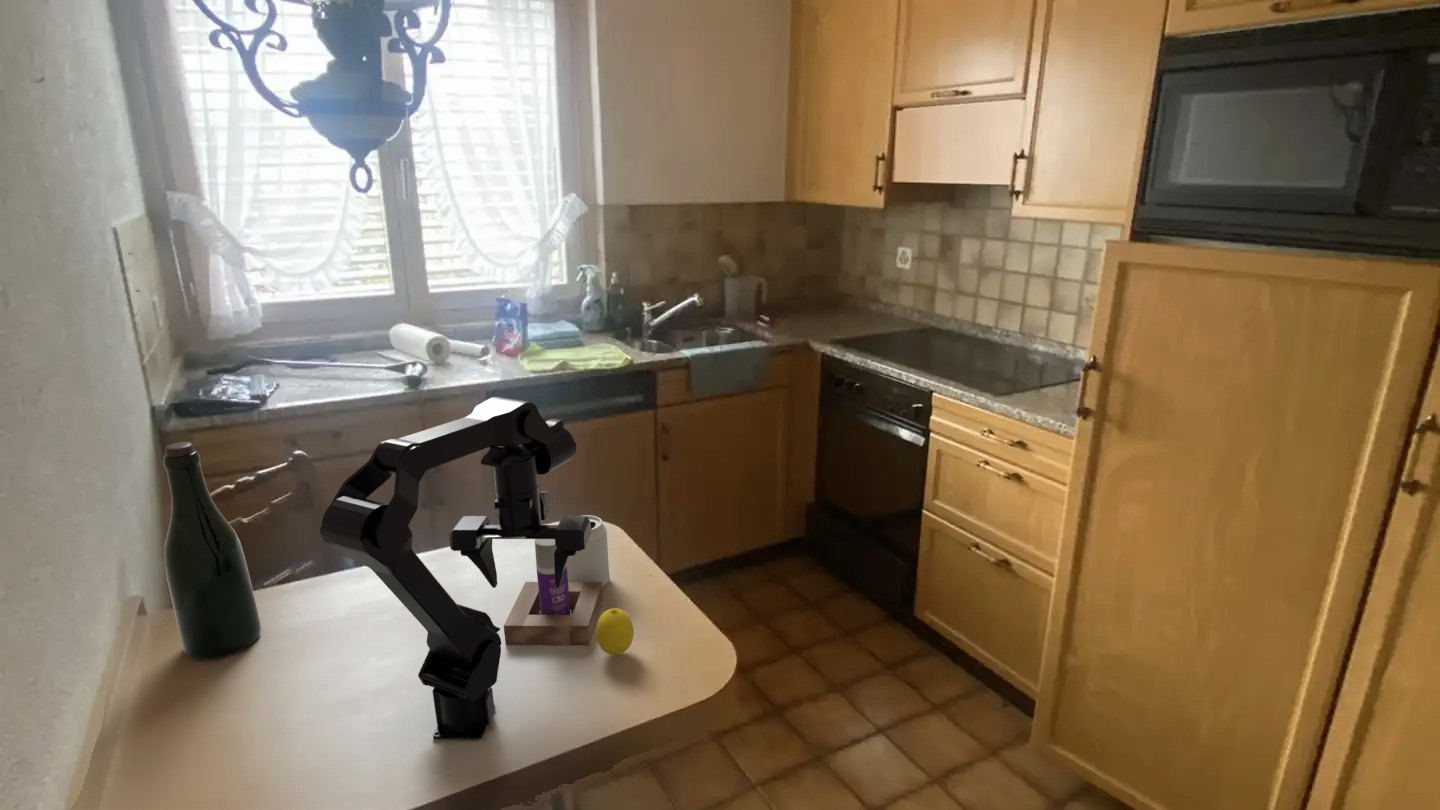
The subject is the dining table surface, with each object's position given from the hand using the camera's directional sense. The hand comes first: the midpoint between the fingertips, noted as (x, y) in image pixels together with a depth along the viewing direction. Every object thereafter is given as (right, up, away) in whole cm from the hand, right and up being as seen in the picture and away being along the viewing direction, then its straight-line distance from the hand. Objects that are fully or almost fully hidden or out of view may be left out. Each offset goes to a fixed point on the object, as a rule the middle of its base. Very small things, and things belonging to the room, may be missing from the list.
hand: (526, 586), depth 114 cm
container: (+1, -9, +14) cm, 17 cm away
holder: (+1, -9, +14) cm, 17 cm away
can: (+5, -6, +26) cm, 27 cm away
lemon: (+12, -12, +6) cm, 18 cm away
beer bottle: (-50, -11, +10) cm, 52 cm away
